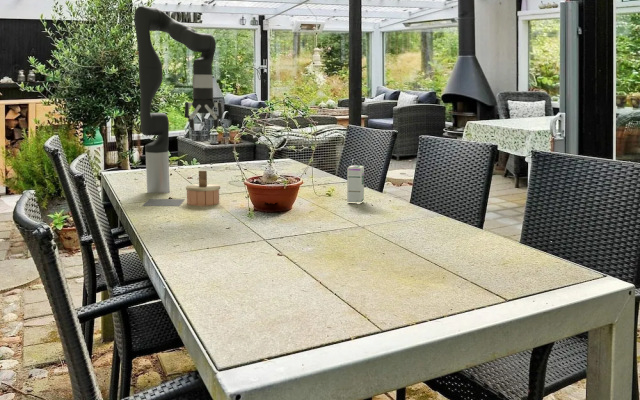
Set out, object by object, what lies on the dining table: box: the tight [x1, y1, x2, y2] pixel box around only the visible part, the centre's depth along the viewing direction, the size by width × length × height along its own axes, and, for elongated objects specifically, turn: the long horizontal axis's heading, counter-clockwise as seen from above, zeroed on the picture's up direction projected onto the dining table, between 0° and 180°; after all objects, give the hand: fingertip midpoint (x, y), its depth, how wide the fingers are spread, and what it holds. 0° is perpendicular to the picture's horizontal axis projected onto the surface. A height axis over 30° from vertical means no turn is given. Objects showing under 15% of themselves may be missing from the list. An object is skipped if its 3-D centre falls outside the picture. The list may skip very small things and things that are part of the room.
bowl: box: [186, 189, 220, 207], centre depth 248 cm, size 12×12×6 cm
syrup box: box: [346, 165, 365, 202], centre depth 252 cm, size 6×6×14 cm
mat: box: [141, 198, 186, 207], centre depth 248 cm, size 14×14×1 cm
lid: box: [185, 169, 221, 191], centre depth 247 cm, size 13×13×7 cm
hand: (204, 129), depth 250 cm, fingers open, 8 cm apart
